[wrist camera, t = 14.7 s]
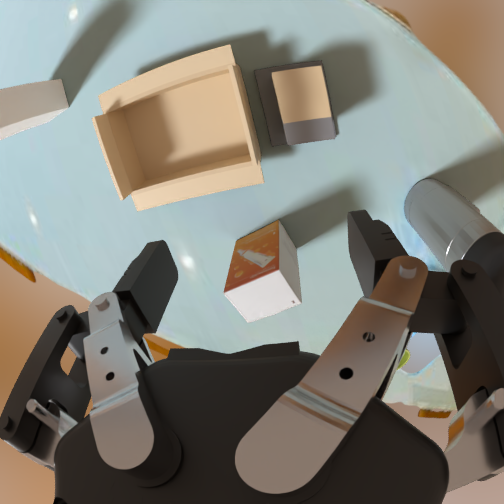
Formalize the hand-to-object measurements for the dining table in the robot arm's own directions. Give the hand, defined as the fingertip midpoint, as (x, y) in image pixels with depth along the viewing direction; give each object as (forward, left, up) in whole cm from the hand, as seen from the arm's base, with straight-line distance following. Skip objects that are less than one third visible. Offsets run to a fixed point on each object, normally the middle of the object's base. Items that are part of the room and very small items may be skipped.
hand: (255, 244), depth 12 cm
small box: (+4, +17, -29) cm, 33 cm away
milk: (+33, -18, -28) cm, 47 cm away
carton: (+11, -4, -28) cm, 31 cm away
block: (-5, -4, -28) cm, 28 cm away
